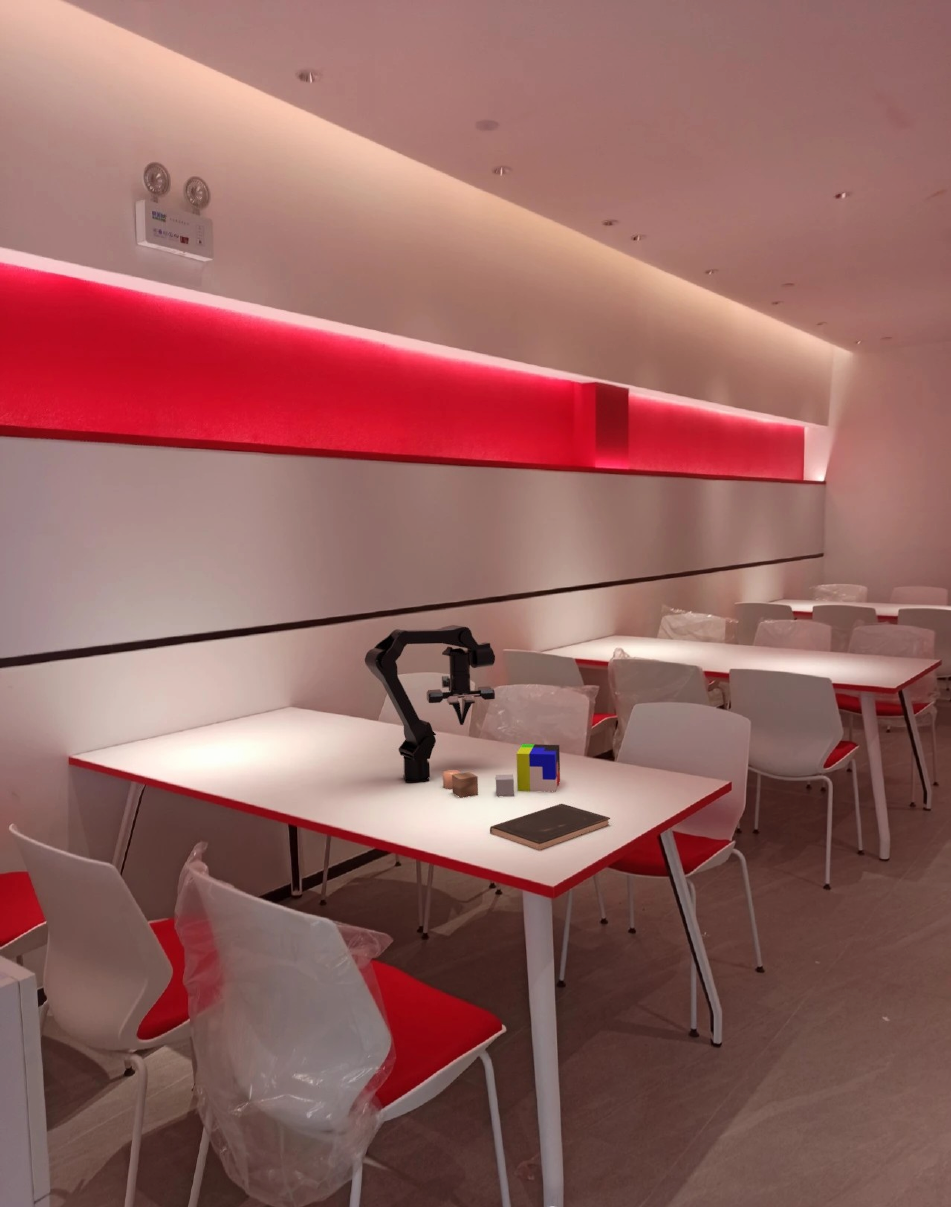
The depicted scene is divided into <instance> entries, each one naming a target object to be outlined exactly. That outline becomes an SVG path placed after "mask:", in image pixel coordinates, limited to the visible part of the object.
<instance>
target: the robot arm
mask: <svg viewBox="0 0 951 1207" xmlns="http://www.w3.org/2000/svg"><path fill="white" fill-rule="evenodd" d="M423 644H424V645H425V644H426V645H427V644H429V645H432V644H443V645H444V644H445V645H447V647H446V648H445V650H443V651H442V652H441V655H442V656H446V657H448V661H449V664H448V666H449V676H448V675H442V676H441V687H442V689H446V688H447V689H448V691H442V690H441V689H428V690H427V691H426V700H427V703H428V704H440V703H442V701H443V700H446V702H447V704H448V705H449V706H450V705H451V706H452V707H453V709H454V711H455V714H456V717H457V720H458V722H459V725H460V726H464V724H465V720H466V718H467V715H468V712H469V711H470V709H471V706H472V704H476V701H475V700H474V699H475V698H478V697H479V698H480V697H481V698H482V699H483V701H484V700H495V699H496V694H495V690H494V689H493V688H492V687H491V686H490V685H489V686H487V685H486V686H478V687H477V689H476V690H474V689H473V690H471V668H473V669H478V668H484V667H492V666H493V665H494V664H495V661H496V655H495V652H494V650H493V649H492V647H491V643H490V642H487V641H486V642H482V643H478V642H477V640H476V639H475V638H474V636H473V633H472V630H471V629H470V628H469V627H468V626H463V625H455V624H451V625H446V626H444V627H441V628H436V629H400V628H397V629H394V630H393V631H391V632H390V634H388V636H386V637H385V638H384V639H382V640H381V641H379V642H378V643H377V644H376V645H375V646H374V648H371V649H369V650H368V651H367V652H366V654H365V657H364V663H365V665H366V668H368V669H369V670H370V672H371V673H372V674H373V675H374V676H375V677H376V678H377V679H378V681H380V682H381V684H382V685H383V687H384V690H385V692H386V693H387V696H388V697H389V699H390V701H391V703H392V705H393V707H394V709H395V711H396V712H397V716H398V717H399V719H400V720H401V723H402V724H403V735H404V738H405V740H403V742H402V744H401V745H400V746H399V748H398V752H399V754H400V756H403V775H402V777H403V780H404V783H419V782H429V781H430V777H431V770H430V768H431V767H430V761H429V759H431V756H432V752H433V749H434V747H435V745H436V743H437V742H436V741H437V739H436V737H435V736H436V735H437V733H436V732H434V730H433V727H432V725H431V723H430V722H429V721H426V720H423V719H421V718H419V716H418V714H417V712H416V710H415V708H414V706H413V704H412V701H411V700H410V698H409V696H408V694H407V691H406V690H405V688H404V686H403V684H402V682H401V680H400V679H399V674H398V664H397V660H398V659H399V658H400V657H401V655H402V653H403V651H404V650H405V647H406V646H407V645H423ZM452 646H454V647H455V646H456V647H457V648H453V647H452ZM464 649H465V650H464ZM459 699H461V702H460V701H459Z"/></svg>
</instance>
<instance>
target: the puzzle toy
mask: <svg viewBox="0 0 951 1207" xmlns="http://www.w3.org/2000/svg"><path fill="white" fill-rule="evenodd" d="M560 760H561V759H560V744H534V743H532V744H530V743H529V744H528V743H527V744H525V743H523V744H521V746H520V747H519V749H518V750H517V752H516V781H517V782H516V784H517V786H516V788H517V792H535V791H542V792H543V793H556V792H557V790H558V787H559V785H560V783H559V782H561V767H560V766H561V764H560V763H561V762H560ZM544 791H545V792H544ZM548 791H550V792H548ZM552 791H553V792H552Z"/></svg>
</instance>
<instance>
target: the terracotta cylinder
mask: <svg viewBox="0 0 951 1207" xmlns="http://www.w3.org/2000/svg"><path fill="white" fill-rule="evenodd" d="M459 773H460V770H456V769H447V770H444V771H442V787H443V788H444V789H445V788H446V789H445V790H452V775H453V774H459Z"/></svg>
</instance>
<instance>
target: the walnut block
mask: <svg viewBox="0 0 951 1207" xmlns="http://www.w3.org/2000/svg"><path fill="white" fill-rule="evenodd" d="M478 781H479V778H478V776H477V775H476V774H474V773H472V772H471V771H466V772H459V774H453V775H452V789H451V790H452V794H453V795H455V796H456V797H458V796H459V797H458V798H459V799H462V798H463V797H464V798H468V796H470V797H475V796H479V782H478ZM464 798H463V799H464Z"/></svg>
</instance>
